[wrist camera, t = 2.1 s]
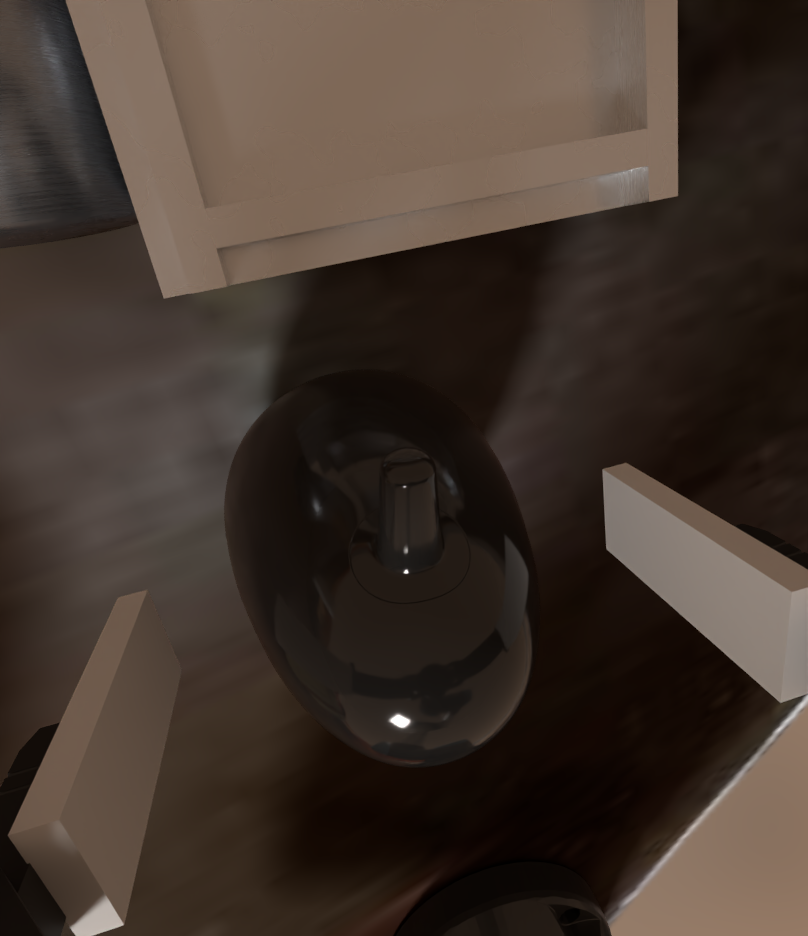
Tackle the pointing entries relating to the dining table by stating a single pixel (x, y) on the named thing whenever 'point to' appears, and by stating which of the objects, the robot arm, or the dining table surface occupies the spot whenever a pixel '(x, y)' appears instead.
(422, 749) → the pump dispenser
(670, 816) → the dining table surface
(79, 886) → the robot arm
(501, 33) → the white tray
